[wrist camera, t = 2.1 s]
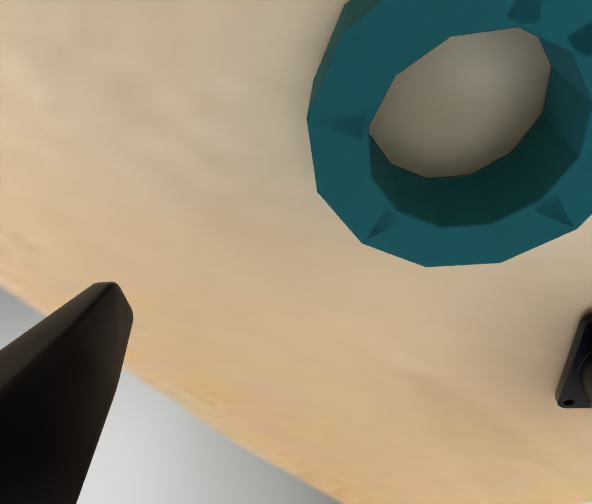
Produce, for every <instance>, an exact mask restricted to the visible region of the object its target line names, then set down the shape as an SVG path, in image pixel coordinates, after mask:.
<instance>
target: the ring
mask: <svg viewBox="0 0 592 504" xmlns="http://www.w3.org/2000/svg"><path fill="white" fill-rule="evenodd" d="M515 27H519V28H521V29H523V30H525V31H527V32H529V33H531V34H533V35H535V36H537V37H538V38H539V40H540V42H541V44H542V46H543V49H544V51H545V53H546V55H547V58H548V60H549V62H550V64H551V72H550V77H549V83H548V88H547V93H546V99H545V104H544V109H543V113H542V115H541V116H540V117H539V118H538V120H537V121H536V122H535V124H534V125H533V126H532V127H531V129H530V130H529V131H528V133H527V134H526V135H525V136H524V138H523V139H522V140H521V142H520V143H519V144H518V145H517V147H516V148H515V149H514V151H513V152H512V153H510V154H508V155H506V156H504V157H503V158H501V159H499V160H497V161H495V162H493V163H492V164H490V165H488V166H486V167H484V168H482V169H481V170H479V171H477V172H475V173H473V174H472V175H463V176H452V177H440V178H429V179H427V178H425V177H422V176H420V175H417V174H415V173H412V172H410V171H407V170H405V169H402V168H400V167H398V166H395V165H393V164H391V163H390V162H389V160H388V159H387V157H386V156H385V155H384V153H383V152H382V151H381V149H380V148H379V146H378V145H377V144H376V142H375V141H374V140H373V138H372V137H371V136H370V134H369V125H370V123H371V122H372V120H373V118H374V116H375V114H376V112H377V110H378V108H379V106H380V104H381V102H382V100H383V99H384V97H385V95H386V93H387V91H388V89H389V87H390V85H391V83H392V81H393V79H394V78H395V76H396V75H397V74H398V73H400V72H401V71H403V70H404V69H405V68H407V67H408V66H410V65H411V64H412V63H414V62H415V61H417V60H418V59H419V58H421V57H422V56H424V55H425V54H427V53H428V52H429V51H431V50H432V49H434V48H435V47H436V46H438V45H439V44H441V43H442V42H444V41H445V40H446V39H448V38H449V37H451V36H457V35H464V34H471V33H479V32H486V31H493V30H501V29H508V28H515ZM307 124H308V131H309V137H310V144H311V151H312V158H313V165H314V172H315V179H316V185H317V192H318V194H320V195H321V197H322V198H323V199H324V200H325V201H326V202H327V203H328V205H329V206H330V207H331V208H332V209H333V210H334V212H335V213H336V214H337V215H338V216H339V217H340V219H341V220H342V221H343V222H344V223H345V224H346V225H347V227H348V228H349V229H350V230H351V231H352V232H353V234H354V235H355V236H356V237H357V238H358V239H359V240H360V242H361V243H363V244H365V245H368V246H370V247H373V248H376V249H379V250H381V251H384V252H387V253H389V254H392V255H395V256H397V257H400V258H403V259H406V260H408V261H411V262H414V263H416V264H419V265H422V266H424V267H436V266H454V265H471V264H489V263H501V262H503V261H506V260H508V259H510V258H512V257H515V256H517V255H519V254H521V253H524V252H526V251H528V250H530V249H533V248H535V247H537V246H539V245H542V244H544V243H546V242H549V241H551V240H553V239H555V238H558V237H560V236H562V235H564V234H567V233H569V232H571V231H573V230H576V229H577V228H578V227H579V226H580V225H581V224H582V223H583V222H584V221H585V220H586V219H587V218H588V217H589V216H590V215H591V214H592V0H350V1H349V2H347V3H346V4H345V5H344V7H343V10H342V12H341V15H340V17H339V20H338V22H337V24H336V27H335V29H334V32H333V34H332V37H331V39H330V42H329V44H328V46H327V49H326V51H325V54H324V56H323V59H322V61H321V64H320V66H319V68H318V71H317V73H316V76H315V78H314V81H313V86H312V92H311V97H310V103H309V109H308V114H307Z"/></svg>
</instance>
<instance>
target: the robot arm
mask: <svg viewBox="0 0 592 504" xmlns="http://www.w3.org/2000/svg"><path fill="white" fill-rule="evenodd" d="M132 323H133V312H132V309H131V307H130V305H129V303H128V301H127V299H126V297H125V296H124V294H123V292H122V290H121V288H120V286H119V285H118V284H117V283H115V282H99V283H95V284H93V285H91V286H90V287H88V288H87V289H86V290H84V291H83V292H81V293H80V294H79V295H77V296H76V297H74V298H73V299H72V300H70V301H69V302H67V303H66V304H65V305H63V306H62V307H60V308H59V309H58V310H56V311H55V312H53V313H52V314H50V315H49V316H48V317H46V318H45V319H43V320H42V321H41V322H39V323H38V324H36V325H35V326H34V327H32V328H31V329H29V330H28V331H27V332H25V333H24V334H22V335H21V336H20V337H18V338H17V339H15V340H14V341H13V342H11V343H10V344H8V345H7V346H6V347H4V348H3V349H1V350H0V504H76V502H77V500H78V497H79V494H80V492H81V489H82V486H83V482H84V480H85V477H86V475H87V472H88V469H89V466H90V463H91V460H92V458H93V455H94V452H95V449H96V446H97V443H98V441H99V438H100V435H101V432H102V429H103V426H104V424H105V420H106V418H107V415H108V412H109V409H110V406H111V404H112V401H113V398H114V395H115V392H116V389H117V385H118V382H119V378H120V374H121V370H122V365H123V361H124V357H125V353H126V348H127V344H128V340H129V336H130V332H131V327H132ZM555 398H556V401H557V403H558V405H559V406H560V407H562V408H592V313H589V314H587V315H585V316H584V317H582V319H581V320H580V323H579V326H578V329H577V332H576V335H575V338H574V341H573V344H572V347H571V350H570V353H569V356H568V359H567V362H566V365H565V368H564V371H563V374H562V377H561V379H560V382H559V385H558V388H557V391H556V394H555Z"/></svg>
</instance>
